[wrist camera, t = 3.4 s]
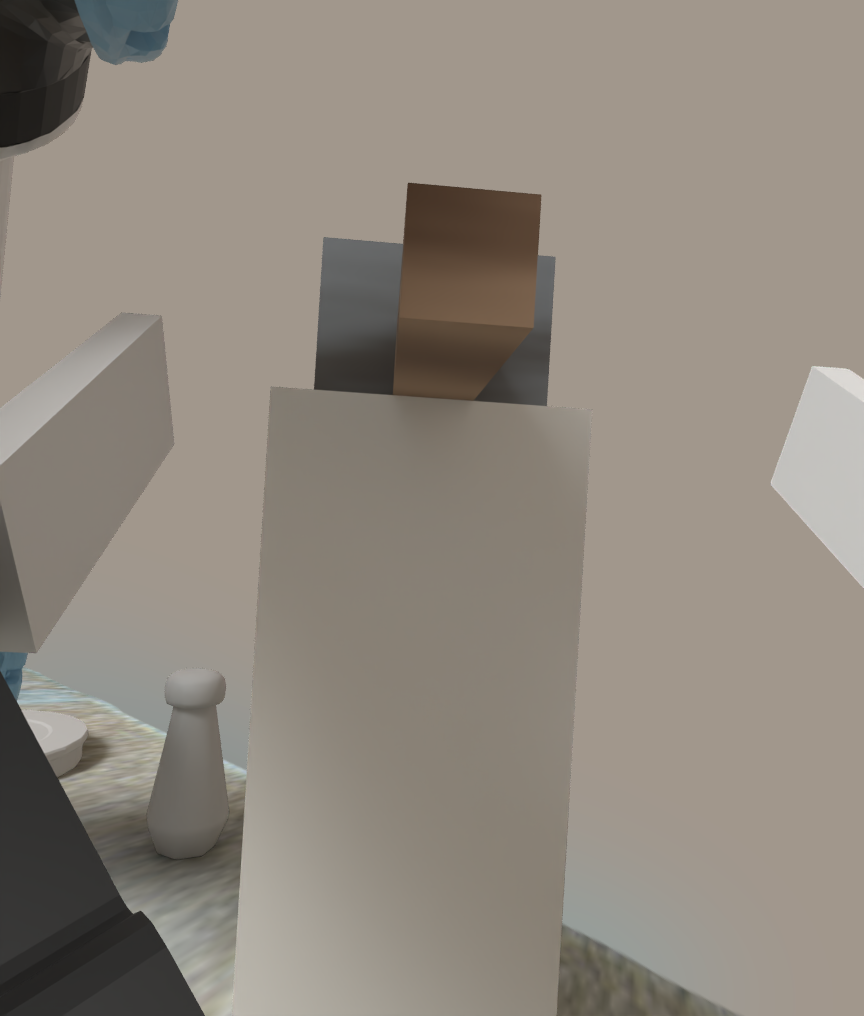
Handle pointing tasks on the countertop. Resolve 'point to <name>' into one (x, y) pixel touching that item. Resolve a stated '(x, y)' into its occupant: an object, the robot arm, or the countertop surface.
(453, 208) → the panel with wooden post
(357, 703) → the pedestal
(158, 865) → the countertop surface
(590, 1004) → the countertop surface
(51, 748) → the lid
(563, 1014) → the countertop surface
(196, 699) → the salt shaker
